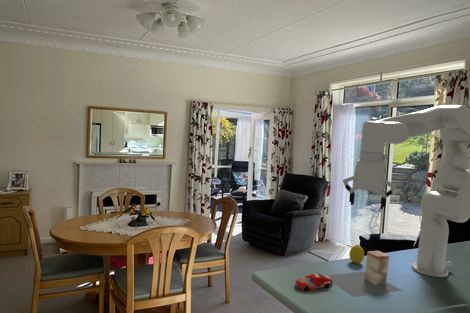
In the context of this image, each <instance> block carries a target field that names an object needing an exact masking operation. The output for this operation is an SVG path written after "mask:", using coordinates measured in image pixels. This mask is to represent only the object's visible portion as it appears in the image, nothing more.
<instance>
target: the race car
mask: <svg viewBox="0 0 470 313" xmlns="http://www.w3.org/2000/svg"><path fill="white" fill-rule="evenodd" d="M333 284H334V283H333V282H332V279H331V278H330V277H328V276H326V275H325V274H321V273H311V274H308V275H305V276H304V277H300V278H297V279H296V281H295V288H297V289H298V290H301V291H304V292H309V291H315V290H317V291H318V290H323V289H324V290H328V289H329V288H331V287H333Z"/></svg>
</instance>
